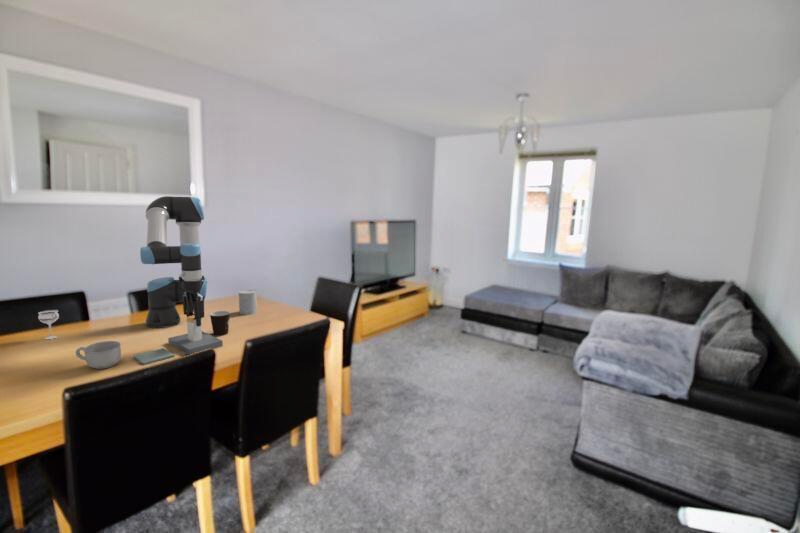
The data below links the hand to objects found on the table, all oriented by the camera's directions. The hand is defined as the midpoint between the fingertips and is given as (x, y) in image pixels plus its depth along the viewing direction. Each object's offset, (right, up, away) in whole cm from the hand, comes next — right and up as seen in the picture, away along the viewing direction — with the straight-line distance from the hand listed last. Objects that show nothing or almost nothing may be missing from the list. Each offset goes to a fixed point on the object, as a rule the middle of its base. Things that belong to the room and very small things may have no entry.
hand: (194, 331), depth 165 cm
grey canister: (+2, +2, +53) cm, 53 cm away
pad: (-9, -8, -14) cm, 18 cm away
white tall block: (0, -5, +1) cm, 5 cm away
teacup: (-23, -9, -23) cm, 34 cm away
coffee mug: (+4, -4, +18) cm, 18 cm away
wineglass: (-66, -4, +3) cm, 66 cm away
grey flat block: (0, -6, +1) cm, 6 cm away
